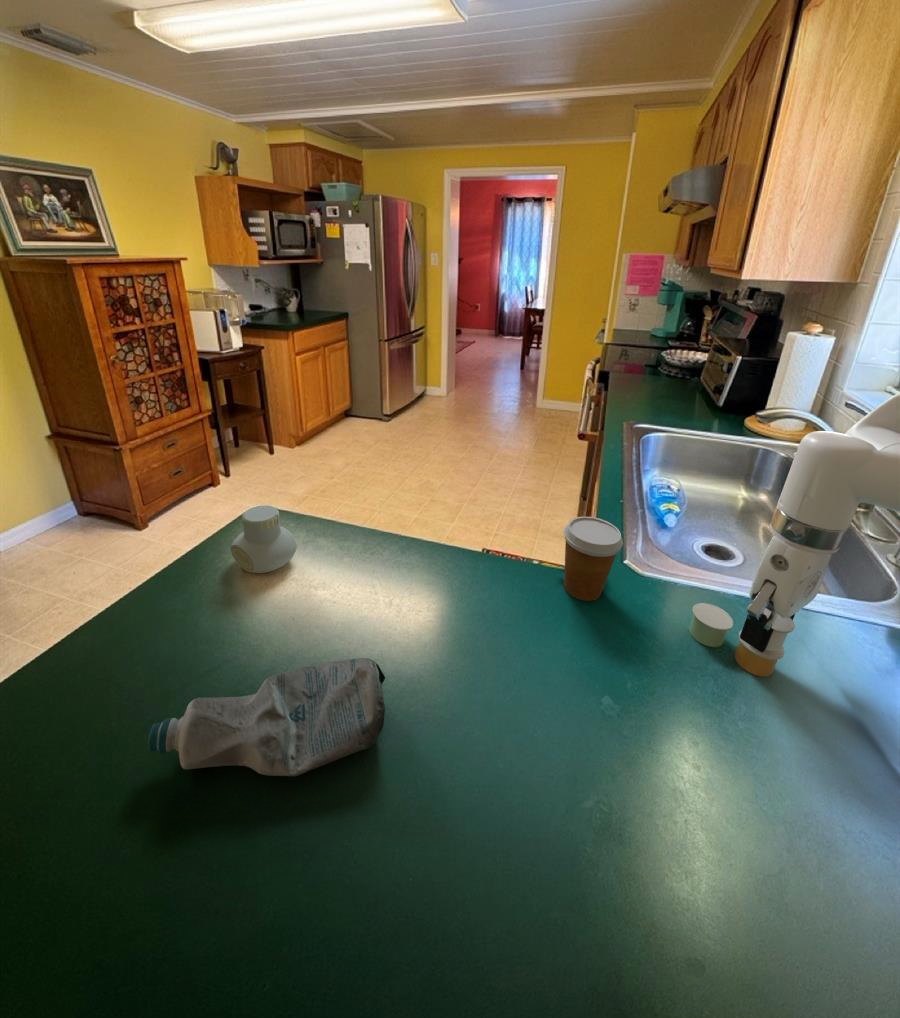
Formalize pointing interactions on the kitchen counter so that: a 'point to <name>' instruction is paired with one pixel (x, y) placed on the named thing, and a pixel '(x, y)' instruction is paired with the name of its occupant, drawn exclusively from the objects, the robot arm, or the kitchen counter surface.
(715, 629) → the cylinder
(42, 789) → the kitchen counter surface
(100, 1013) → the kitchen counter surface
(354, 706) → the detergent
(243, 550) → the air freshener
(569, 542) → the disposable coffee cup
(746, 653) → the caramel pod
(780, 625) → the white pod
